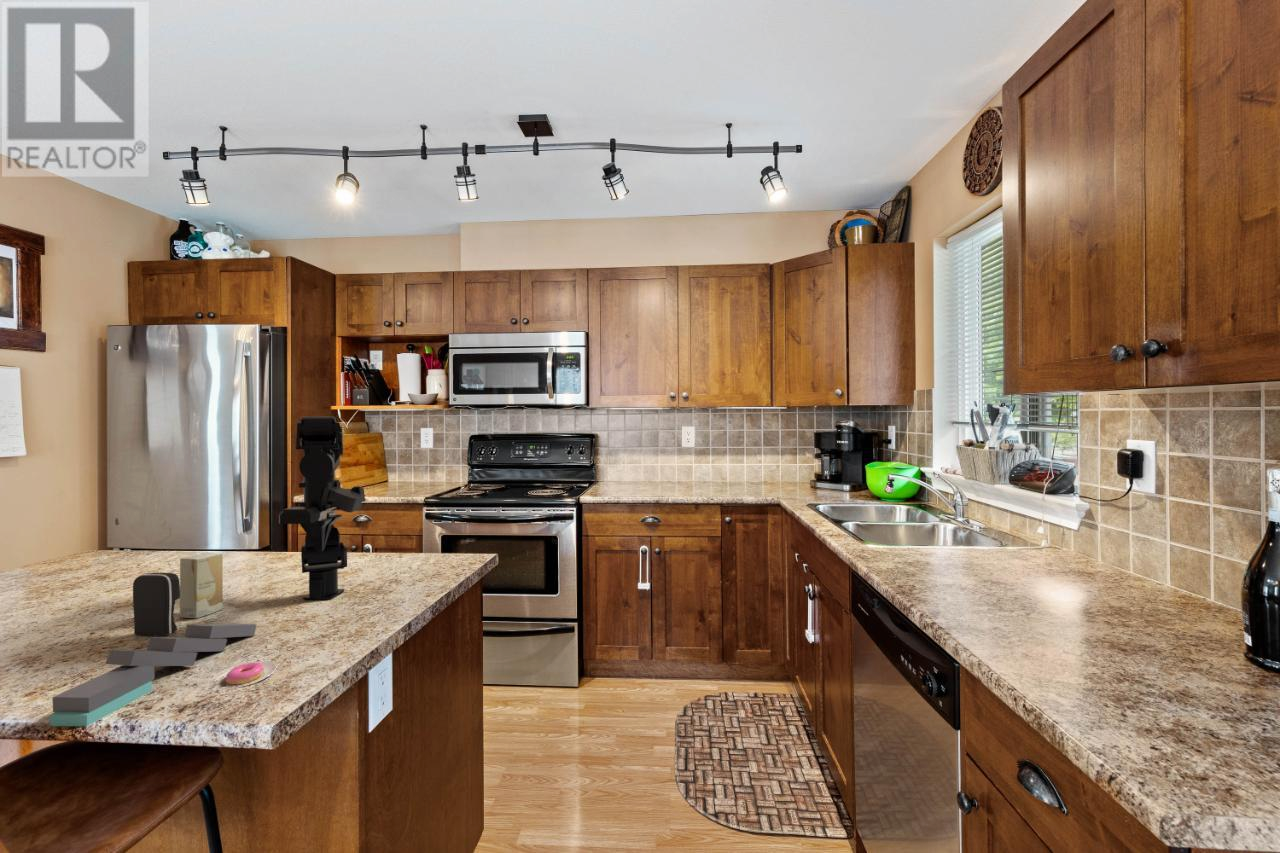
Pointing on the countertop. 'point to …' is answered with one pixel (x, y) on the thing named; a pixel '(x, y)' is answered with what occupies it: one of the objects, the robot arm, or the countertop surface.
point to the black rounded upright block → (155, 603)
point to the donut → (248, 672)
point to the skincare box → (201, 585)
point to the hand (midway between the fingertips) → (320, 551)
